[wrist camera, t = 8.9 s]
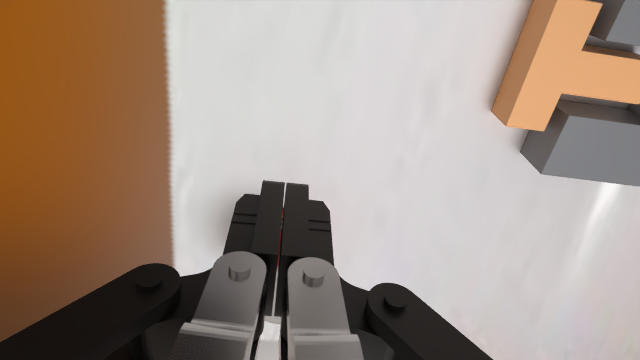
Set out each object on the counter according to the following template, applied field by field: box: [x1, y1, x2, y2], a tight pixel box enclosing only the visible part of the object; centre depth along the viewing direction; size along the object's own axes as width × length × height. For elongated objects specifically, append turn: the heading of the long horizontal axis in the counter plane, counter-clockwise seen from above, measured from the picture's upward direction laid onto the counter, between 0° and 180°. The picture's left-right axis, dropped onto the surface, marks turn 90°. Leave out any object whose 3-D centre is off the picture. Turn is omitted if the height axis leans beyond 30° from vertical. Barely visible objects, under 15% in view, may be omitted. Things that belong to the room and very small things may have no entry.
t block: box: [491, 0, 640, 131], centre depth 40 cm, size 12×12×4 cm
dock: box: [520, 0, 640, 186], centre depth 41 cm, size 20×11×5 cm, turn 172°
